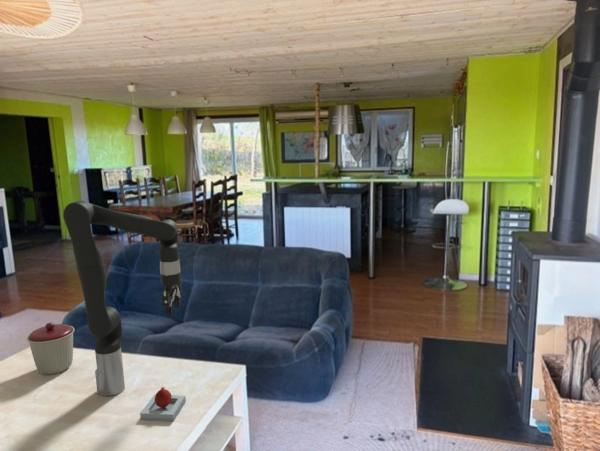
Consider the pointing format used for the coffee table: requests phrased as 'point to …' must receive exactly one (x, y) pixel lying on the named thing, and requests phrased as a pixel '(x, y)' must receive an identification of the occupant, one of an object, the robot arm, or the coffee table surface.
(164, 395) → the onion
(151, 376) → the coffee table surface
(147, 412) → the base plate
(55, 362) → the canister
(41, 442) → the coffee table surface
